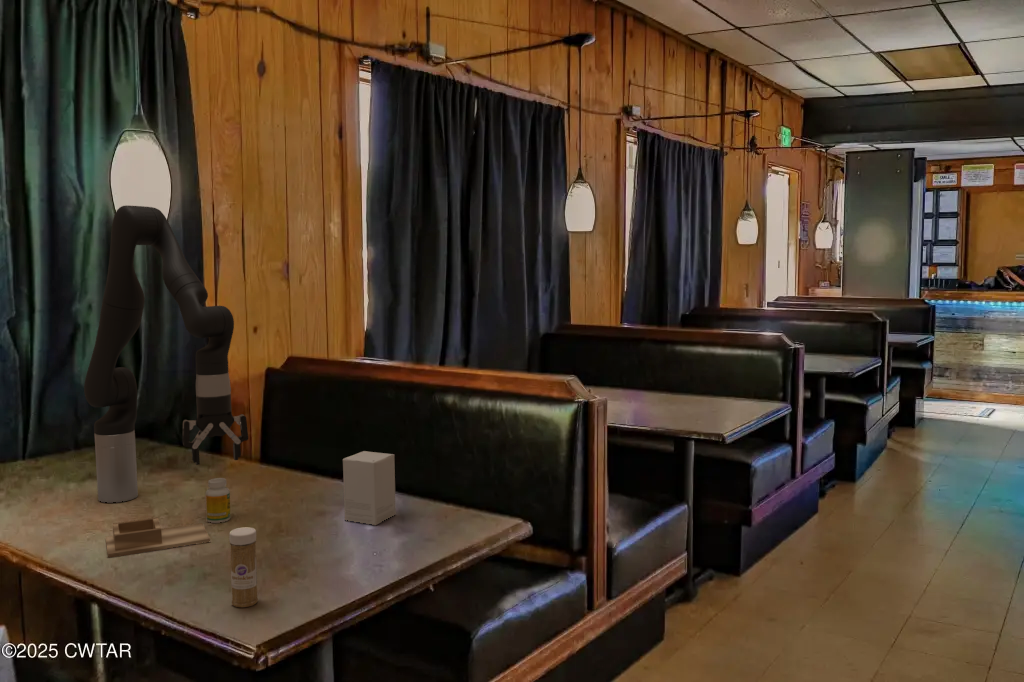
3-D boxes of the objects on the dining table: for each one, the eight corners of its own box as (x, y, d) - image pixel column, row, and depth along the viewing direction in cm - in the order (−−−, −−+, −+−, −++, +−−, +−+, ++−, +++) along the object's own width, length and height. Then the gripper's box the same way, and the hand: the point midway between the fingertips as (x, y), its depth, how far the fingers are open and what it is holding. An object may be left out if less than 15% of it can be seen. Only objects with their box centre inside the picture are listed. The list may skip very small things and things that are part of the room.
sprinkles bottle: (232, 610, 149) (229, 536, 148) (231, 600, 154) (228, 528, 152) (259, 606, 151) (257, 532, 150) (257, 596, 155) (255, 525, 154)
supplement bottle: (205, 518, 200) (203, 478, 199) (229, 515, 202) (227, 475, 201) (207, 525, 195) (206, 484, 194) (232, 521, 198) (230, 481, 196)
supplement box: (397, 515, 202) (396, 453, 201) (375, 526, 194) (374, 462, 193) (365, 510, 206) (364, 449, 204) (343, 521, 198) (341, 458, 196)
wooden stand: (105, 540, 185) (104, 522, 185) (202, 526, 194) (201, 509, 194) (107, 557, 175) (106, 539, 174) (210, 542, 184) (209, 524, 183)
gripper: (242, 388, 202) (245, 454, 204) (178, 393, 196) (182, 462, 197) (248, 392, 195) (251, 461, 197) (182, 398, 189) (186, 469, 191)
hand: (216, 461), depth 197 cm, fingers open, 8 cm apart
